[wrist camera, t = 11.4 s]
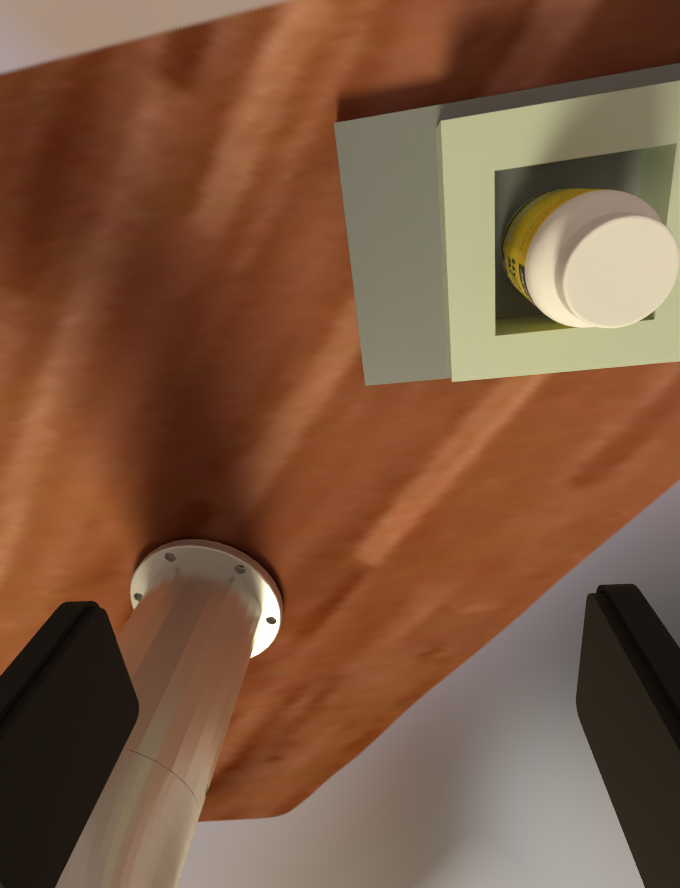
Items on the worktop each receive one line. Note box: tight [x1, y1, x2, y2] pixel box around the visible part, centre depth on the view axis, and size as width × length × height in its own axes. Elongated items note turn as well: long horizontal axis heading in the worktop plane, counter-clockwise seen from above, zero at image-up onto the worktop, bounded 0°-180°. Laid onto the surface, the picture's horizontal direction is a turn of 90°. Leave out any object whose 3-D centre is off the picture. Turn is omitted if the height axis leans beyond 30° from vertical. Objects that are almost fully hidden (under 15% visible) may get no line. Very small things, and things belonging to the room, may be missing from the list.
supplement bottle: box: [501, 188, 680, 328], centre depth 23 cm, size 5×5×10 cm
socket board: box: [334, 63, 680, 386], centre depth 26 cm, size 22×14×5 cm, turn 98°
